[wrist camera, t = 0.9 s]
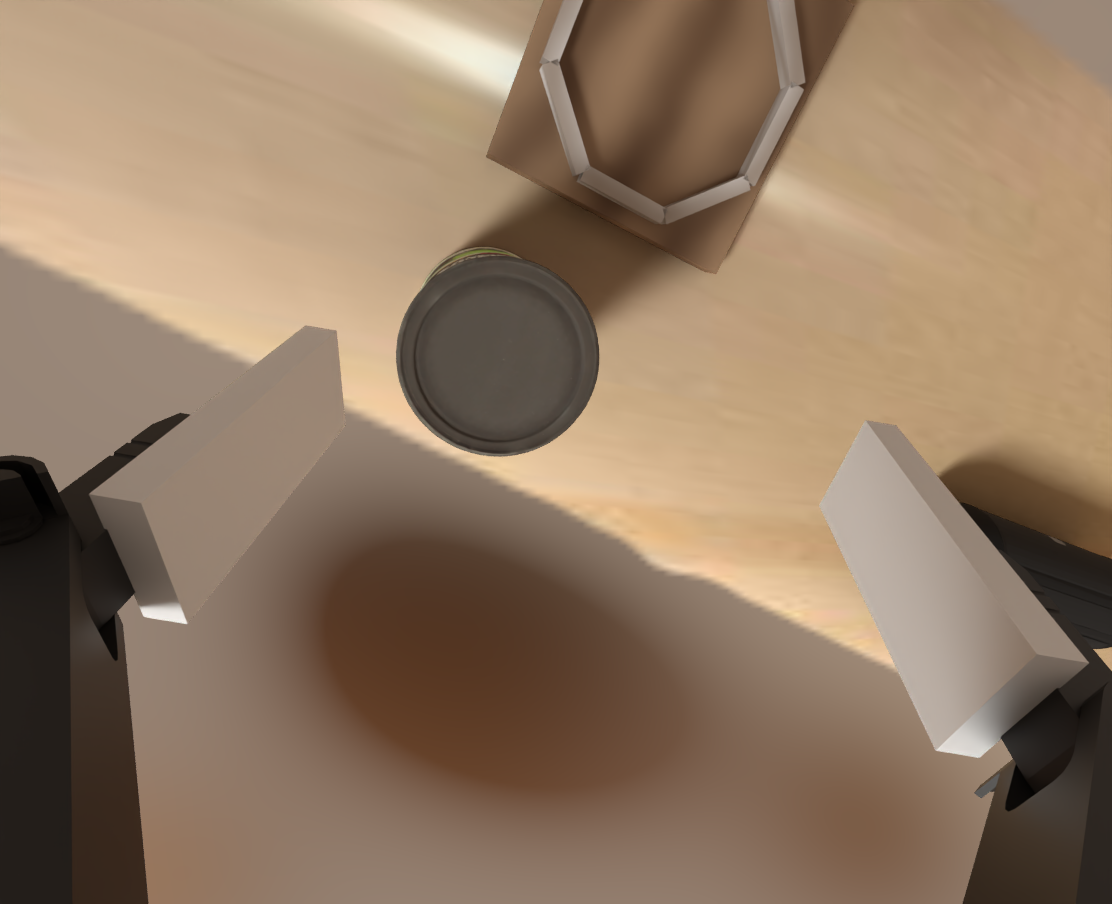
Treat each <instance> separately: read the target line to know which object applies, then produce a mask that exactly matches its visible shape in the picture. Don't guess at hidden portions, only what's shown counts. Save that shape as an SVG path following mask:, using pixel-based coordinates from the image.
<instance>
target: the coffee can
mask: <svg viewBox="0 0 1112 904" xmlns="http://www.w3.org/2000/svg"><path fill="white" fill-rule="evenodd" d="M396 363H397V371H398V377H399V381H400V385H401V388H402V391H403V393H404V396H405V398H406V400H407V402H408V404H409V406H410V407H411V409H412V410H413V412H414V413H415V415H416V416H417V417H418V419H419V420H420V421H421V422H422V423H423V424H424V425H425V426H426V427H427V428H428V429H429V430H430V431H431V432H432V433H433V434H435V435H436V436H437V437H439V438H440V439H442V440H443V441H445V442H447V443H448V444H450V445H452V446H454V447H456V448H459V449H461V450H464V451H467V452H470V453H474V454H479V455H486V456H512V455H518V454H522V453H526V452H529V451H532V450H535V449H537V448H540V447H542V446H544V445H546V444H548V443H550V442H551V441H553V440H554V439H555V438H557V437H558V436H560V435H561V434H562V433H563V432H565V431H566V430H567V429H568V428H569V427H570V426H571V425H572V424H573V423H574V422H575V420H576V419H577V418H578V417H579V416H580V414H581V413H582V411H583V410H584V408H585V407H586V405H587V403H588V401H589V399H590V397H591V395H592V392H593V390H594V387H595V384H596V380H597V375H598V369H599V345H598V337H597V333H596V329H595V325H594V323H593V320H592V318H591V315H590V313H589V311H588V309H587V307H586V306H585V304H584V303H583V301H582V300H581V298H580V297H579V296H578V294H577V293H576V292H575V291H574V290H573V289H572V288H571V287H570V286H569V284H568V283H566V282H565V281H564V280H563V279H562V278H560V277H559V276H558V275H557V274H555V273H554V272H552V271H550V270H549V269H547V268H545V267H543V266H541V265H539V264H537V263H534V262H531V261H527V260H524V259H522V258H520V257H518V256H517V255H515V254H513V253H510V252H508V251H505V250H502V249H498V248H493V247H474V248H469V249H465V250H462V251H459V252H457V253H455V254H453V255H451V256H449V257H447V258H446V259H444V260H443V261H442V262H440V263H439V264H438V265H437V266H436V267H435V268H434V269H433V270H432V271H431V273H430V274H429V275H428V277H427V278H426V280H425V281H424V283H423V286H422V288H421V290H420V292H419V293H418V294H417V296H416V297H415V298H414V300H413V301H412V303H411V304H410V306H409V308H408V310H407V312H406V314H405V316H404V318H403V321H402V324H401V327H400V330H399V334H398V339H397V349H396Z"/></svg>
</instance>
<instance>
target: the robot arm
mask: <svg viewBox="0 0 1112 904" xmlns="http://www.w3.org/2000/svg"><path fill="white" fill-rule="evenodd" d="M344 427H345V414H344V404H343V393H342V383H341V372H340V362H339V351H338V341H337V331H335V330H329V329H323V328H318V327H312V326H304V327H303V328H302V329H301V330H299V331H298V332H297V333H295V334H294V335H293V336H292V337H290V338H289V339H288V340H286V341H285V342H284V343H283V344H281V345H280V346H279V347H277V348H276V349H275V350H274V351H272V352H271V353H270V354H268V355H267V356H266V357H265V358H263V359H262V360H261V361H259V362H258V363H257V364H255V365H254V366H253V367H252V368H250V369H249V370H248V371H246V372H245V373H244V374H243V375H242V376H240V377H239V378H237V379H236V380H235V381H234V382H232V383H231V384H230V385H229V386H227V387H226V388H225V389H223V390H222V391H221V392H219V393H218V394H217V395H216V396H214V397H213V398H212V399H210V400H209V401H208V402H207V403H205V404H204V405H203V406H202V407H200V408H199V409H198V410H196V411H195V412H194V413H193V414H191V415H189V414H183V413H179V414H176V415H174V416H171V417H169V418H167V419H164V420H162V421H159V422H157V423H155V424H152V425H151V426H149V427H148V428H147V429H145V430H144V431H142V432H141V433H140V434H138V435H137V436H136V437H134V438H133V439H132V440H131V443H126V444H125V445H123V446H122V447H121V448H119V449H118V450H117V451H115V452H114V456H109V457H107V458H106V459H104V460H103V461H102V462H100V463H99V464H97V465H96V466H95V467H93V468H92V469H91V470H89V471H88V472H87V473H85V474H84V475H82V476H81V477H80V478H78V479H77V480H76V481H74V482H73V483H72V484H70V485H69V486H68V487H66V488H65V489H64V490H62V491H61V492H59V493H58V490H57V489H56V487H55V484H54V482H53V480H52V478H51V476H50V474H49V472H48V470H47V468H46V466H45V464H44V463H43V462H41V461H39V460H36V459H34V458H32V457H25V456H14V455H11V456H1V457H0V904H148V893H147V883H146V871H145V860H144V849H143V839H142V828H141V817H140V806H139V795H138V784H137V774H136V763H135V752H134V740H133V730H132V719H131V708H130V697H129V686H128V675H127V664H126V653H125V643H124V632H123V624H122V622H121V619H120V617H119V615H118V613H117V611H118V610H119V609H120V608H121V607H122V606H123V605H124V604H125V603H126V602H127V601H128V599H130V598H131V596H132V595H133V594H134V596H135V598H136V600H137V602H138V605H139V607H140V609H141V611H142V614H143V616H144V617H148V618H154V619H160V620H166V621H172V622H178V623H184V624H188V623H189V622H190V621H191V619H192V618H193V617H194V615H195V614H196V613H197V612H198V610H199V609H200V608H201V607H202V605H203V604H204V603H205V602H206V600H207V599H208V598H209V597H210V595H211V594H212V593H213V592H214V590H215V589H216V588H217V586H218V585H219V584H220V583H221V581H222V580H223V579H224V578H225V576H226V575H227V574H228V573H229V571H230V570H231V569H232V568H233V566H234V565H235V564H236V562H237V561H238V560H239V559H240V558H241V556H242V555H243V554H244V553H245V551H246V550H247V549H248V547H249V546H250V545H251V544H252V543H253V541H254V540H255V539H256V537H257V536H258V535H259V534H260V532H261V531H262V530H263V529H264V527H265V526H266V525H267V524H268V522H269V521H270V520H271V519H272V517H273V516H274V515H275V513H276V512H277V511H278V510H279V509H280V507H281V506H282V505H283V503H284V502H285V501H286V500H287V498H288V497H289V496H290V494H291V493H292V492H293V491H294V490H295V488H296V487H297V486H298V485H299V483H300V482H301V481H302V480H303V478H304V477H305V476H306V475H307V473H308V472H309V471H310V470H311V468H312V467H313V466H314V464H315V463H316V462H317V461H318V460H319V458H320V457H321V456H322V454H323V453H324V452H325V451H326V449H327V448H328V447H329V446H330V444H331V443H332V442H333V440H334V439H335V438H336V437H337V436H338V434H339V433H340V432H341V430H342V429H343V428H344ZM819 506H820V508H821V510H822V513H823V515H824V517H825V519H826V521H827V523H828V525H829V527H830V529H831V531H832V534H833V536H834V538H835V540H836V542H837V544H838V546H839V548H840V550H841V552H842V555H843V557H844V559H845V561H846V563H847V565H848V567H849V569H850V571H851V574H852V576H853V578H854V580H855V582H856V584H857V586H858V588H859V590H860V592H861V595H862V597H863V599H864V601H865V603H866V605H867V607H868V609H869V611H870V613H871V616H872V618H873V620H874V622H875V624H876V626H877V628H878V630H879V632H880V634H881V637H882V639H883V641H884V643H885V645H886V647H887V649H888V651H889V653H890V655H891V658H892V660H893V662H894V664H895V666H896V668H897V670H898V672H899V674H900V676H901V679H902V681H903V683H904V685H905V687H906V689H907V691H908V693H909V695H910V697H911V700H912V702H913V704H914V706H915V708H916V710H917V712H918V714H919V716H920V718H921V721H922V722H923V725H924V727H925V729H926V731H927V733H928V735H929V737H930V740H931V742H932V744H933V746H934V748H935V750H937V751H942V752H948V753H954V754H960V755H966V756H972V757H978V758H979V757H981V756H982V755H983V754H984V753H985V752H986V751H988V750H989V749H990V748H991V747H992V746H993V745H995V744H996V743H997V742H998V741H999V740H1000V739H1002V740H1003V742H1004V744H1005V746H1006V747H1007V749H1008V751H1009V752H1010V754H1011V756H1012V758H1013V759H1012V760H1011V761H1010V762H1009V763H1007V764H1006V765H1005V766H1004V767H1003V768H1001V769H1000V770H999V771H998V772H996V773H995V774H994V775H993V776H991V777H990V778H989V779H988V780H986V781H985V782H984V783H983V784H982V785H980V786H979V788H978V789H977V790H976V791H975V794H976V795H978V796H979V797H980V798H982V797H983V796H984V795H986V794H987V793H989V792H993V791H994V796H993V799H992V803H991V806H990V810H989V813H988V817H987V820H986V824H985V827H984V831H983V834H982V838H981V841H980V845H979V848H978V852H977V855H976V858H975V863H974V866H973V869H972V872H971V876H970V880H969V883H968V887H967V890H966V894H965V897H964V901H963V904H1112V671H1111V670H1110V669H1109V668H1108V666H1107V665H1106V664H1105V663H1104V662H1103V660H1102V659H1101V658H1100V657H1099V656H1098V655H1097V653H1096V652H1095V651H1094V650H1093V649H1092V647H1091V646H1090V645H1089V644H1088V643H1087V641H1086V640H1085V639H1084V638H1083V637H1082V635H1081V634H1080V633H1079V632H1078V631H1077V629H1076V628H1075V627H1074V626H1073V625H1072V624H1071V622H1070V621H1069V620H1068V619H1067V618H1066V616H1065V615H1061V614H1060V611H1061V610H1060V609H1059V608H1058V607H1057V606H1056V604H1055V603H1054V602H1053V601H1052V600H1051V598H1050V597H1047V596H1045V591H1044V590H1043V589H1042V588H1041V587H1040V585H1039V584H1038V583H1037V582H1036V581H1035V579H1034V578H1033V577H1032V576H1031V575H1030V573H1029V572H1028V571H1027V570H1026V569H1024V568H1023V567H1022V566H1021V565H1019V564H1018V563H1017V562H1016V561H1014V560H1013V559H1012V558H1011V557H1009V556H1008V555H1007V554H1006V553H1004V552H1003V551H1002V550H998V549H996V548H995V546H994V545H993V544H992V543H991V542H990V540H989V539H988V538H987V537H986V535H985V534H984V533H983V532H982V530H981V529H980V528H979V527H978V526H977V524H976V523H975V522H974V521H973V519H972V518H971V517H970V516H969V514H968V513H967V512H966V511H965V510H964V508H963V507H962V506H961V505H960V503H959V502H958V501H957V500H956V498H955V497H954V496H953V495H952V494H951V492H950V491H949V490H948V489H947V487H946V486H945V485H944V484H943V482H942V481H941V480H940V479H939V477H938V476H937V475H936V474H935V473H934V471H933V470H932V469H931V468H930V466H929V465H928V464H927V463H926V461H925V460H924V459H923V458H922V457H921V455H920V454H919V453H918V452H917V450H916V449H915V448H914V447H913V445H912V444H911V443H910V442H909V441H908V439H907V438H906V437H905V436H904V434H903V433H902V432H901V431H900V429H899V428H898V427H897V426H896V425H891V424H885V423H879V422H873V421H867V420H865V422H864V424H863V426H862V427H861V429H860V431H859V433H858V435H857V437H856V439H855V440H854V442H853V444H852V446H851V448H850V450H849V451H848V453H847V455H846V457H845V459H844V461H843V463H842V464H841V466H840V468H839V470H838V472H837V474H836V475H835V477H834V479H833V481H832V483H831V485H830V487H829V488H828V490H827V492H826V494H825V496H824V498H823V499H822V501H821V503H820V505H819Z"/></svg>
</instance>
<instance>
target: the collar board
mask: <svg viewBox="0 0 1112 904" xmlns="http://www.w3.org/2000/svg"><path fill="white" fill-rule="evenodd" d="M853 7H854V5H853V4H852V3H850V2H849V1H848V0H544V1H543V4H542V6H541V9H540V12H539V14H538V17H537V20H536V23H535V25H534V28H533V31H532V33H531V36H530V39H529V42H528V44H527V47H526V50H525V52H524V55H523V58H522V61H521V63H520V66H519V69H518V71H517V74H516V77H515V80H514V82H513V85H512V88H511V90H510V93H509V96H508V99H507V101H506V104H505V107H504V109H503V112H502V115H501V117H500V120H499V123H498V126H497V128H496V131H495V134H494V136H493V139H492V142H491V145H490V147H489V150H488V153H487V155H486V157H487V158H489V159H491V160H493V161H495V162H497V163H499V164H501V165H502V166H504V167H506V168H508V169H510V170H512V171H514V172H516V173H518V174H520V175H521V176H523V177H525V178H527V179H529V180H531V181H533V182H535V183H537V184H539V185H540V186H542V187H544V188H546V189H548V190H550V191H552V192H554V193H556V194H558V195H559V196H561V197H563V198H565V199H567V200H569V201H571V202H573V203H575V204H577V205H578V206H580V207H582V208H584V209H586V210H588V211H590V212H592V213H594V214H596V215H598V216H599V217H601V218H603V219H605V220H607V221H609V222H611V223H613V224H615V225H617V226H618V227H620V228H622V229H624V230H626V231H628V232H630V233H632V234H634V235H636V236H637V237H639V238H641V239H643V240H645V241H647V242H649V243H651V244H653V245H655V246H656V247H658V248H660V249H662V250H664V251H666V252H668V253H670V254H672V255H674V256H675V257H677V258H679V259H681V260H683V261H685V262H687V263H689V264H691V265H693V266H695V267H696V268H698V269H700V270H702V271H704V272H708V273H714V274H716V273H717V271H718V270H719V268H720V266H721V264H722V262H723V260H724V258H725V256H726V254H727V252H728V250H729V248H730V246H731V244H732V242H733V240H734V238H735V236H736V235H737V233H738V231H739V229H740V227H741V225H742V223H743V221H744V219H745V217H746V215H747V213H748V211H749V209H750V207H751V205H752V203H753V201H754V200H755V198H756V196H757V194H758V192H759V190H760V188H761V186H762V184H763V182H764V180H765V178H766V176H767V174H768V172H769V170H770V168H771V166H772V165H773V163H774V161H775V159H776V157H777V155H778V153H779V151H780V149H781V147H782V145H783V143H784V141H785V139H786V137H787V135H788V133H789V131H790V130H791V128H792V126H793V124H794V122H795V120H796V118H797V116H798V114H799V112H800V110H801V108H802V106H803V104H804V102H805V100H806V98H807V96H808V95H809V93H810V91H811V89H812V87H813V85H814V83H815V81H816V79H817V77H818V75H819V73H820V71H821V69H822V67H823V65H824V63H825V61H826V60H827V58H828V56H829V54H830V52H831V50H832V48H833V46H834V44H835V42H836V40H837V38H838V36H839V34H840V32H841V30H842V28H843V26H844V25H845V23H846V21H847V19H848V17H849V15H850V13H851V11H852V9H853Z"/></svg>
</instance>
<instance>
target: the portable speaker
mask: <svg viewBox="0 0 1112 904" xmlns="http://www.w3.org/2000/svg"><path fill="white" fill-rule="evenodd" d="M960 505H961V506H962V507H963V508H964V510H965V511H966V512H967V513H968V514H969V516H970V517H971V518H972V519H973V521H974V522H975V523H976V524H977V526H978V527H979V528H980V529H981V530H982V532H983V533H984V534H985V535H986V537H987V538H988V539H989V540H990V542H991V543H992V544H993V545H994V546H995V548H996V549H998V550H1002V551H1003V552H1004V553H1006V554H1007V555H1008V556H1009V557H1011V558H1012V559H1013V560H1014V561H1016V562H1017V563H1018V564H1019V565H1021V566H1022V567H1023V568H1024V569H1026V570H1027V571H1028V572H1029V573H1030V575H1031V576H1032V577H1033V578H1034V579H1035V581H1036V582H1037V583H1038V584H1039V585H1040V587H1041V588H1042V589H1043V590H1044V591H1045V596H1047V597H1050V598H1051V600H1052V601H1053V602H1054V603H1055V604H1056V606H1057V607H1058V608H1059V609H1060V610H1061V611H1060V614H1061V615H1065V616H1066V618H1067V619H1068V620H1069V621H1070V622H1071V624H1072V625H1073V626H1074V627H1075V628H1076V629H1077V631H1078V632H1079V633H1080V634H1081V635H1082V637H1083V638H1084V639H1085V640H1086V641H1087V643H1088V644H1089V645H1090V646H1091V647H1092V649H1103V648H1109V647H1112V559H1110V558H1107V557H1104V556H1100V555H1098V554H1095V553H1092V552H1090V551H1087V550H1084V549H1082V548H1079V547H1077V546H1074V545H1071V544H1069V543H1066V542H1064V541H1061V540H1058V539H1056V538H1053V537H1051V536H1048V535H1045V534H1043V533H1040V532H1037V531H1035V530H1032V529H1030V528H1027V527H1024V526H1022V525H1019V524H1016V523H1014V522H1011V521H1009V520H1006V519H1003V518H1001V517H998V516H995V515H993V514H990V513H988V512H985V511H982V510H980V509H978V508H976V507H974V506H971V505H968V504H964V503H960Z"/></svg>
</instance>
